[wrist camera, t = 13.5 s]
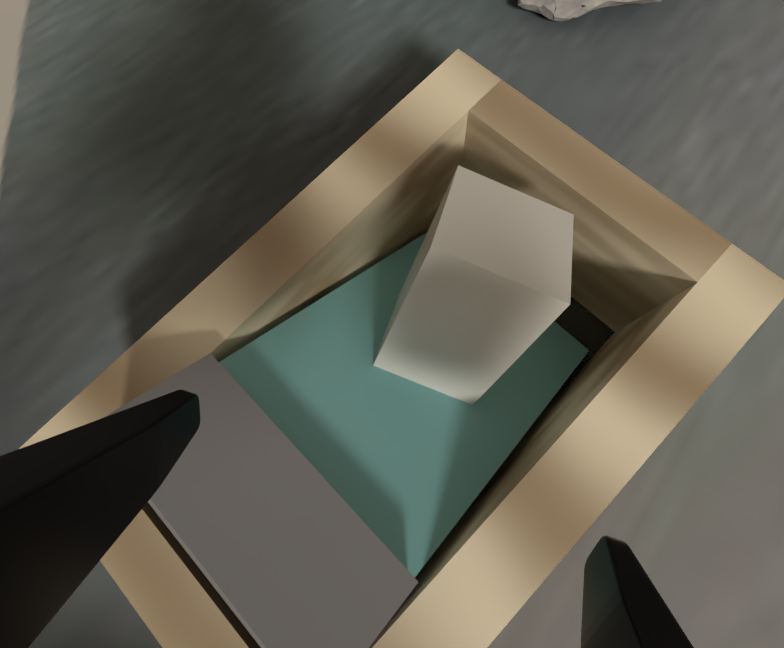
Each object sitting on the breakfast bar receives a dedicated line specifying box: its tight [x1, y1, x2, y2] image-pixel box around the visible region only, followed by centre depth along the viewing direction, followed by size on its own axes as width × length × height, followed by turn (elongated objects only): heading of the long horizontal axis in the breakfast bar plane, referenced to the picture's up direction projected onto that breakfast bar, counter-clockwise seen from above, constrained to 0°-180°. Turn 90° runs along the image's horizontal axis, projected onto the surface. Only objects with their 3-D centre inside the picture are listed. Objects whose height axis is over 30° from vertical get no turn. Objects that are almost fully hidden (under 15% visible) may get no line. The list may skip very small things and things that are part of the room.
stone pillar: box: [373, 165, 574, 405], centre depth 17 cm, size 4×4×7 cm
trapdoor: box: [103, 232, 589, 648], centre depth 19 cm, size 18×10×3 cm, turn 134°
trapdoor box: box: [20, 49, 784, 648], centre depth 20 cm, size 23×16×7 cm
